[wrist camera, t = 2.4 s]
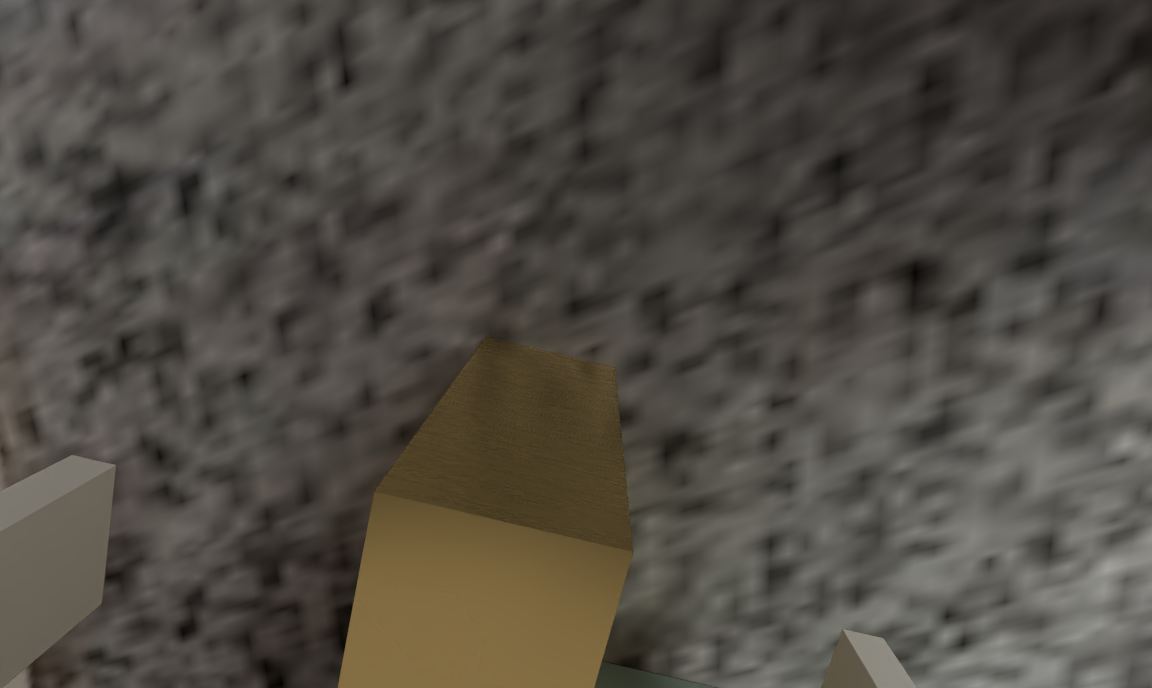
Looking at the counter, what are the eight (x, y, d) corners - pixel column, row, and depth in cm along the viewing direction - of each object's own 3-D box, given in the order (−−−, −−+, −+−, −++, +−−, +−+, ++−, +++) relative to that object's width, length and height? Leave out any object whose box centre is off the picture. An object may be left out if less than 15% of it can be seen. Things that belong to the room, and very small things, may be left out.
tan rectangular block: (485, 336, 15) (374, 491, 8) (614, 367, 16) (634, 552, 8) (429, 601, 17) (288, 954, 9) (545, 628, 17) (504, 999, 9)
